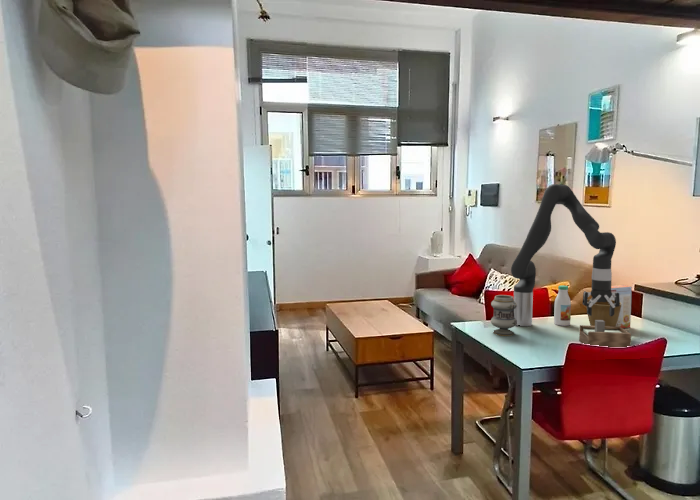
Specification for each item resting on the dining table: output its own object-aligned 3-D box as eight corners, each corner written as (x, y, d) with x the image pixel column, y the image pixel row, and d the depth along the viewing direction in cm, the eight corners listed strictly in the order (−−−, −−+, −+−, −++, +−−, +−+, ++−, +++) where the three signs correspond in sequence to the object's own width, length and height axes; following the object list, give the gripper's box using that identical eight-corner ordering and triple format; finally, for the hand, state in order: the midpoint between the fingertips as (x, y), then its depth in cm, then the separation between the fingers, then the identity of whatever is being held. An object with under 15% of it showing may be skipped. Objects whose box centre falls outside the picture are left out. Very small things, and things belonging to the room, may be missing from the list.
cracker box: (620, 325, 242) (622, 284, 240) (630, 327, 236) (632, 286, 235) (598, 327, 239) (600, 285, 237) (607, 330, 233) (609, 287, 231)
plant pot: (587, 329, 234) (588, 297, 233) (621, 333, 226) (623, 300, 224) (581, 336, 222) (583, 302, 220) (618, 341, 213) (619, 306, 212)
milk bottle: (553, 325, 243) (555, 286, 241) (553, 321, 250) (554, 284, 248) (570, 326, 240) (571, 287, 238) (569, 323, 247) (571, 285, 245)
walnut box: (588, 349, 202) (588, 332, 202) (579, 340, 215) (579, 325, 214) (630, 350, 199) (631, 334, 199) (618, 342, 212) (619, 326, 211)
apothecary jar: (489, 329, 236) (489, 293, 234) (514, 330, 233) (515, 294, 232) (491, 336, 224) (492, 298, 222) (518, 337, 222) (519, 299, 220)
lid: (590, 336, 203) (590, 323, 202) (583, 330, 213) (583, 317, 212) (626, 338, 200) (627, 324, 200) (617, 332, 210) (618, 318, 210)
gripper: (586, 279, 202) (585, 317, 204) (622, 280, 200) (621, 318, 201) (581, 277, 210) (580, 313, 211) (616, 277, 207) (614, 314, 208)
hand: (600, 315), depth 206 cm, fingers open, 8 cm apart
